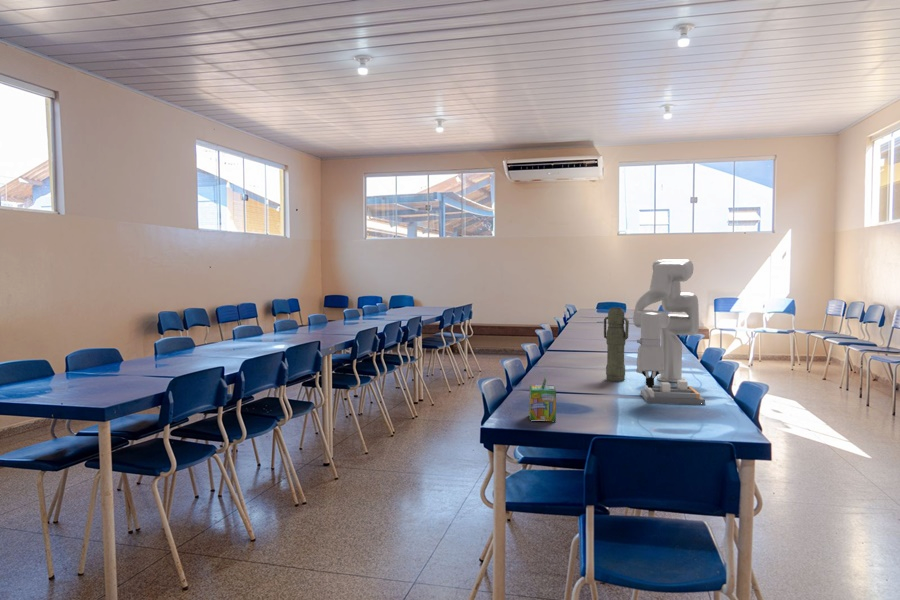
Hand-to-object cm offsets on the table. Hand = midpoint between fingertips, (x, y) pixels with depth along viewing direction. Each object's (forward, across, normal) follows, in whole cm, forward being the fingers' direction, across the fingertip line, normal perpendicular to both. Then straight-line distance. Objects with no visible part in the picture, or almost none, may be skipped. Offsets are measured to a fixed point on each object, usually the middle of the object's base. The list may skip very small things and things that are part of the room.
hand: (649, 387), depth 229 cm
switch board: (+5, +9, +3) cm, 11 cm away
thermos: (+6, -9, +41) cm, 42 cm away
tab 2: (+3, +14, +6) cm, 15 cm away
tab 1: (+3, +6, 0) cm, 7 cm away
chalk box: (+6, -43, -36) cm, 56 cm away
